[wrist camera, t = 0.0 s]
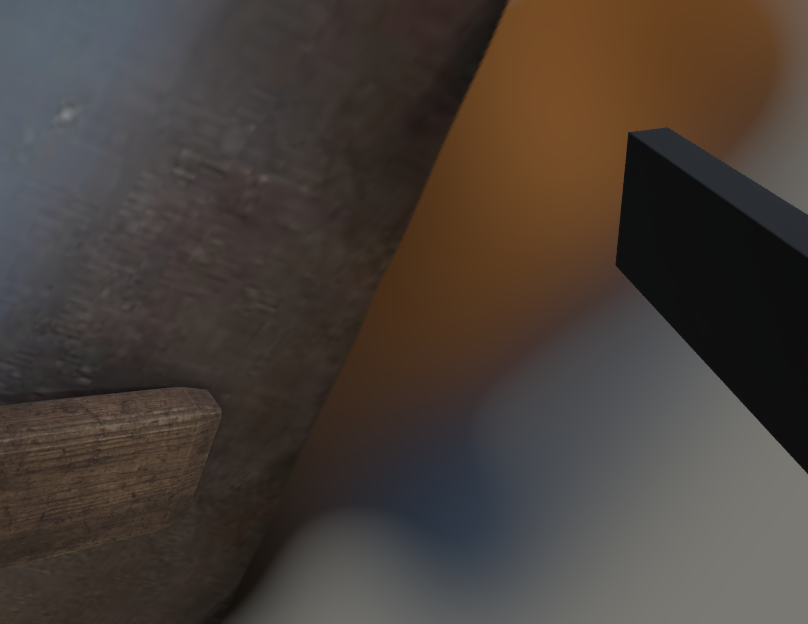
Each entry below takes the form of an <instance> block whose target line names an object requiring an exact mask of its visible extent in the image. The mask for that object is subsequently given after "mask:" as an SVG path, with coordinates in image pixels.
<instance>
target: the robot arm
mask: <svg viewBox="0 0 808 624" xmlns="http://www.w3.org/2000/svg"><path fill="white" fill-rule="evenodd" d="M616 266H617V267H618V268H619V269H620V271H621V272H622V273H623V274H624V275H625V276H626V277H627V278H628V279H629V280H630V281H631V283H632V284H633V285H634V286H635V287H636V288H637V289H638V290H639V291H640V292H641V293H642V295H643V296H644V297H645V298H646V299H647V300H648V301H649V302H650V303H651V304H652V305H653V306H654V307H655V309H656V310H657V311H658V312H659V313H660V314H661V315H662V316H663V317H664V318H665V320H666V321H667V322H668V323H669V324H670V325H671V326H672V327H673V328H674V329H675V330H676V331H677V332H678V334H679V335H680V336H681V337H682V338H683V339H684V340H685V341H686V342H687V343H688V344H689V345H690V347H691V348H692V349H693V350H694V351H695V352H696V353H697V354H698V355H699V356H700V357H701V359H702V360H703V361H704V362H705V363H706V364H707V365H708V366H709V367H710V368H711V369H712V370H713V372H714V373H715V374H716V375H717V376H718V377H719V378H720V379H721V380H722V381H723V382H724V383H725V385H726V386H727V387H728V388H729V389H730V390H731V391H732V392H733V393H734V394H735V395H736V396H737V398H738V399H739V400H740V401H741V402H742V403H743V404H744V405H745V406H746V407H747V409H748V410H749V411H750V412H751V413H752V414H753V415H754V416H755V417H756V418H757V419H758V420H759V421H760V423H761V424H762V425H763V426H764V427H765V428H766V429H767V430H768V431H769V432H770V433H771V435H772V436H773V437H774V438H775V439H776V440H777V441H778V442H779V443H780V444H781V445H782V446H783V448H784V449H785V450H786V451H787V452H788V453H789V454H790V455H791V456H792V457H793V458H794V460H795V461H796V462H797V463H798V464H799V465H800V466H801V467H802V468H803V469H804V470H805V471H806V472H807V474H808V215H807V214H805V213H804V212H802V211H801V210H799V209H797V208H796V207H794V206H792V205H791V204H789V203H788V202H786V201H784V200H783V199H781V198H780V197H778V196H776V195H775V194H773V193H772V192H770V191H769V190H767V189H765V188H764V187H762V186H761V185H759V184H757V183H756V182H754V181H753V180H751V179H749V178H748V177H746V176H745V175H743V174H741V173H740V172H738V171H737V170H735V169H733V168H732V167H730V166H729V165H727V164H725V163H724V162H722V161H721V160H719V159H717V158H716V157H714V156H713V155H711V154H709V153H708V152H706V151H705V150H703V149H701V148H700V147H698V146H696V145H695V144H693V143H692V142H690V141H688V140H687V139H685V138H684V137H682V136H681V135H679V134H677V133H676V132H674V131H673V130H671V129H669V128H660V129H651V130H643V131H635V132H629V133H628V142H627V153H626V164H625V173H624V183H623V195H622V204H621V214H620V225H619V235H618V245H617V256H616Z"/></svg>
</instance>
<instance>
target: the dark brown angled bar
mask: <svg viewBox="0 0 808 624" xmlns="http://www.w3.org/2000/svg"><path fill="white" fill-rule="evenodd" d="M220 420H221V408H220V407H219V405H218V404H217V402H216V401H215V399H214V398H213V397H212V395H211V394H210V392H209V391H208V390H205V389H197V388H189V387H171V388H161V389H151V390H141V391H132V392H122V393H113V394H103V395H93V396H84V397H74V398H64V399H54V400H44V401H34V402H25V403H15V404H5V405H0V569H4V568H8V567H12V566H16V565H20V564H24V563H28V562H33V561H37V560H41V559H45V558H49V557H53V556H57V555H61V554H65V553H70V552H74V551H78V550H82V549H86V548H90V547H94V546H98V545H103V544H107V543H111V542H115V541H119V540H123V539H127V538H131V537H135V536H140V535H144V534H148V533H152V532H156V531H160V530H163V529H165V528H167V527H169V526H171V525H172V524H174V523H176V522H178V521H180V520H182V519H183V518H184V517H185V516H186V514H187V513H188V510H189V507H190V505H191V502H192V499H193V496H194V493H195V490H196V488H197V485H198V482H199V479H200V476H201V474H202V471H203V468H204V465H205V463H206V460H207V457H208V454H209V451H210V448H211V445H212V443H213V440H214V437H215V434H216V431H217V429H218V426H219V423H220Z"/></svg>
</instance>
